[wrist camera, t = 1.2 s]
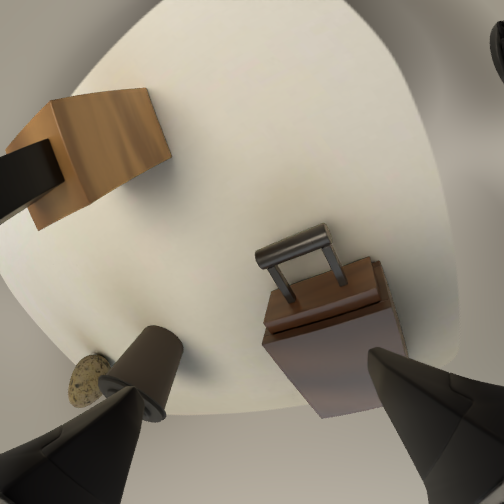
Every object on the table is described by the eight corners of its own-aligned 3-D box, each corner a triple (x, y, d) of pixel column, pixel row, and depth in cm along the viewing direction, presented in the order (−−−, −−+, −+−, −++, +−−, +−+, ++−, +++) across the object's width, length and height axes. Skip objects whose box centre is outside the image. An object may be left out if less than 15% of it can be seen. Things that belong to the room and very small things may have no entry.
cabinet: (273, 296, 25) (261, 344, 20) (379, 259, 21) (392, 306, 16) (324, 376, 30) (321, 418, 25) (407, 353, 26) (415, 397, 21)
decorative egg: (125, 369, 39) (96, 418, 31) (109, 372, 42) (81, 417, 33) (97, 343, 37) (63, 392, 29) (84, 349, 40) (53, 392, 31)
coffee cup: (208, 357, 32) (178, 429, 23) (165, 367, 35) (134, 427, 27) (160, 308, 29) (114, 381, 21) (122, 325, 33) (81, 385, 24)
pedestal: (146, 87, 18) (50, 99, 10) (172, 157, 20) (89, 204, 12) (93, 119, 20) (4, 149, 12) (117, 180, 22) (38, 231, 14)
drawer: (241, 244, 22) (227, 273, 19) (346, 200, 19) (351, 224, 15) (322, 370, 28) (319, 400, 25) (400, 349, 24) (405, 380, 21)
